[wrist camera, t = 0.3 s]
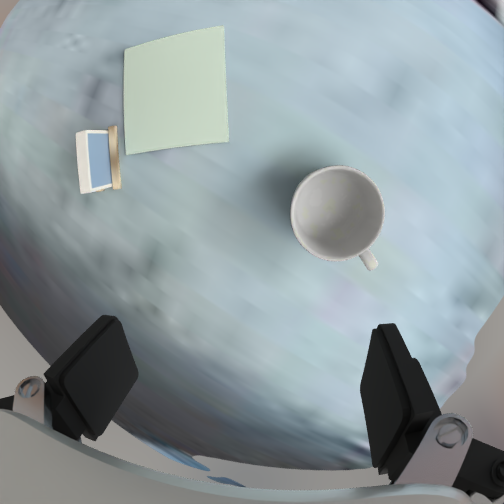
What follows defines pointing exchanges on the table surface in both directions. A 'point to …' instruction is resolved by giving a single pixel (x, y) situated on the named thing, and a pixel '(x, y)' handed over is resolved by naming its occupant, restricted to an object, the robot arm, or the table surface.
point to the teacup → (338, 214)
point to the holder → (114, 158)
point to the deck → (93, 160)
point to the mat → (176, 92)
